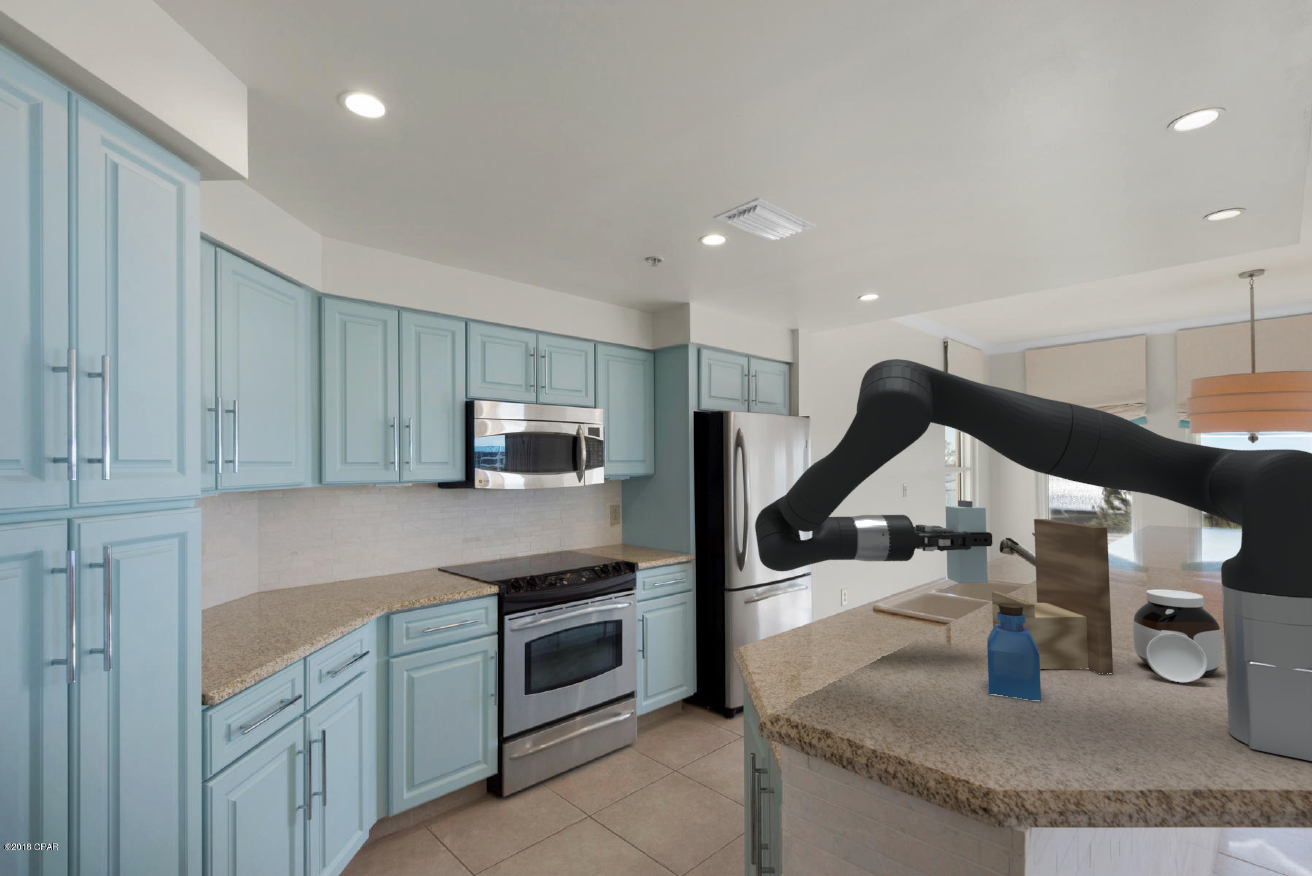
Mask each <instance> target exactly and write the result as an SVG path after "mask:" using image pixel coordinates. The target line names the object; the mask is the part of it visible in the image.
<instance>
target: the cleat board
mask: <svg viewBox="0 0 1312 876" xmlns="http://www.w3.org/2000/svg"><path fill="white" fill-rule="evenodd" d="M1033 525H1034V526H1033V527H1034V550H1035V551H1034V553H1035V555H1034V557H1035V579H1036V580H1035V581H1036V584H1035V585H1036V602H1029V601H1026V600H1023V599H1020V598H1018V597H1016V596H1012V595H1010V594H1007V593H1004V592H1001V591H996V590H995V591H991V606H992V607H991V608H992V628H993V627H994V626H995V624H1000V621H999V620H998V619H997V612H999V611H1000V609H999V605H998V604H999V603H1016V604H1021V605H1023V606H1024V608H1023V612H1022V613H1023V614H1025V621H1026V622H1025V623H1023V627H1027V628H1028V629H1029V631H1030V633H1031V635H1032V637H1033V639H1034V640H1035V642H1036V645H1037V648H1038V652H1039V655H1040V669H1072V670H1081V669H1080V668H1084V669H1083V670H1087V669H1086V668H1089V669H1090V670H1089V669H1088V670H1089V671H1091V670H1093V671H1095V672H1097V673H1100V674H1102V673H1103V674H1107V673H1108V674H1109V673H1112V674H1113V675H1114V666H1113V665H1114V664H1113V662H1114V661H1113V660H1114V659H1113V642H1112V641H1113V640H1112V638H1113V637H1112V615H1111V613H1112V612H1111V609H1112V608H1111V591H1110V589H1111V588H1110V567H1109V566H1110V564H1109V563H1110V562H1109V560H1110V559H1109V541H1108V540H1109V539H1108V537H1109V536H1108V527H1105V526H1098V525H1093V524H1092V525H1091V524H1084V523H1076V522H1070V521H1065V520H1063V521H1062V520H1055V519H1049V518H1034V519H1033ZM1093 671H1092V672H1093ZM1095 672H1094V673H1095ZM1097 673H1096V674H1097ZM1100 674H1099V675H1100Z"/></svg>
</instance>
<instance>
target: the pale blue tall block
mask: <svg viewBox="0 0 1312 876" xmlns="http://www.w3.org/2000/svg"><path fill="white" fill-rule="evenodd" d="M986 511H987V507H982V506H974V504H973V500H972V501H971V500H966V499H965V500H962V499H960V500H957V505H945V528H950V529H952V530H953V531H957V532H963V531H967V532H987V512H986ZM946 534H947V533H946ZM959 542H960V544H961V537H960V538H959ZM946 571H947V572H946V573H947V574H946V576H947V577H946V578H947V579H949V580H951V581H953V582H955V583H958V584H988V583H989V581H988V579H989V578H988V574H989V573H988V546H971V549H969V550H946Z"/></svg>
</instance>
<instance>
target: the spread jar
mask: <svg viewBox="0 0 1312 876" xmlns="http://www.w3.org/2000/svg"><path fill="white" fill-rule="evenodd" d="M1204 599H1205V598H1204V596H1203V595H1202V594H1199V593H1195V592H1191V591H1185V590H1173V589H1160V588H1159V589H1149V590H1148V589H1147V590H1146V601H1147V603H1145V604H1143V605H1141V607H1140V608H1139V609H1138V610H1137V611H1136V612H1135V613H1134V614H1135V615H1134V617H1133V623H1132V625H1133V626H1132V627H1133V629H1132V630H1133V645H1134V650H1135V652H1136V655H1137V656H1138V658H1139V659H1140V660H1141V661H1142V663H1144V664H1145V665H1146V666H1148V667H1149V668H1150V667H1151V668H1150V669H1151V670H1153V672H1155V674H1157V675H1158V676H1159V677H1161V678H1162V679H1165V680H1166V681H1170V682H1172V681H1174V682H1173V683H1177V682H1179V683H1180V684H1185V683H1191V682H1195V681H1197V680H1198V679H1200V677H1202V678H1206V677H1208V676H1210V675H1213V674H1214V673H1215V672H1216V671H1217V670H1219V668H1220V666H1221V664H1222V659H1223V640H1222V639H1223V638H1222V631H1221V627H1220V624H1219V622H1218V621H1217V619H1216V618H1215V617H1214V616H1213V615H1211V613H1209V612H1208V610H1206V609H1205V608H1204V605H1205V600H1204ZM1205 676H1206V677H1205ZM1179 683H1178V684H1179Z"/></svg>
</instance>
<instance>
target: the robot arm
mask: <svg viewBox="0 0 1312 876" xmlns="http://www.w3.org/2000/svg"><path fill="white" fill-rule="evenodd" d="M857 398H858V399H857V403H856V413H855V415H854V417H853V419H852V422H851V423H850V425H849V427H848V428H847V430H846V431H845V434H844V436H843V437H842V438H841V440H840V442H838V443H837V445H836V447H835V448H834V449H833V450H832V451H831V452H829V453H828V454H827V455H825V456H824V457H822V458H821V459H819V460H817V461H815V462H814V463H813V464H812V465H810V466H809V467H808V468H807V469H806V470H805V471H804V472H803V473H802V474H801V475H800V477H799V478H798V479H797V480H796V481H795V482H794V484H793V485H792V486H791V487H790V489H789V490H788V491H787V493H786V494H784V495H782V496H781V497H779V498H778V499H776V500H775V501H773V502H772V503H769V505H767V506H765V507H764V508H762V509H761V510H760V512H759V513H758V515H757V517H756V520H755V522H754V523H755V524H754V530H755V538H756V545H757V551H758V557H759V561H760V562H761V564H762V565H763V566H765V567H766V568H767V569H770V570H772V571H776V572H788V571H794V570H796V569H799V568H803V567H807V566H810V565H814V564H818V563H822V562H826V561H860V562H861V561H862V562H908V561H910V560H911V559H913V557H914V554H915V551H916V549H917V550H922V551H923V552H934V551H939V552H945V551H946V552H947V550H969V549H971V546H987V547H992V545H993V534H992V533H991V532H990V531H986V532H967V531H963V532H957V531H953V530H952V529H950V528H946V527H942V526H940V525H926V524H915V526H914V524H913V522H912V519H910V517H909V516H908V515H905V514H862V515H854V516H831V515H832V513H834V512H835V511H836V509H837V508H838V507H839V506H840V505H841V504H842V503H843V501H845V500H846V498H847V497H849V495H851V493H853V491H855V490H856V489H857V487H858V486H860V485H861V484H862V483H863V482H864V481H866V479H868V478H869V477H870V476H872V475H873V474H874V473H875V472H877V471H878V470H879V469H880V468H882V467H883V466H885V464H887V463H888V462H890V461H891V460H892V459H893V458H895V457H897V456H898V455H899V454H900V453H902V452H903V451H905V450H906V449H908V448H909V447H910V446H912V445H913V444H914V443H915V442H916V441H917V440H919V439H920V438H921V437H922V436H924V434H925V433H926V432H927V431H928V428H929V427H930V425H931V423H932V424H935V425H939V426H944V427H948V428H952V429H954V430H957V431H959V432H962V433H964V434H967V435H969V436H971V437H973V438H974V439H977V440H978V441H980V442H981V443H983V444H985V445H986V446H988V447H990V448H991V449H992V450H994V451H995V452H997V453H999V454H1000V455H1002V456H1003V457H1005V458H1007V459H1009V460H1010V461H1012V462H1014V463H1016V464H1017V465H1020V466H1021V467H1024V468H1026V469H1028V470H1031V471H1034V472H1036V473H1040V474H1044V475H1048V476H1053V477H1055V478H1059V479H1060V478H1061V479H1063V480H1066V481H1067V480H1068V481H1071V482H1075V483H1076V482H1077V483H1080V484H1086V485H1091V486H1095V487H1101V488H1106V489H1112V490H1113V489H1114V490H1116V491H1117V490H1118V491H1119V490H1120V491H1127V492H1133V493H1141V494H1145V495H1150V496H1154V497H1155V496H1156V497H1158V498H1163V499H1165V500H1168V501H1172V502H1175V503H1176V504H1177V503H1178V504H1180V505H1183V506H1186V507H1189V508H1191V509H1192V508H1193V509H1194V510H1198V511H1200V512H1203V513H1205V514H1208V515H1211V516H1214V517H1216V518H1219V519H1222V520H1224V521H1227V522H1230V523H1232V524H1236V525H1238V526H1241V542H1240V548H1239V551H1238V552H1237V553H1236V555H1234V556H1233V557H1230V558H1228V559H1226V560H1224V561H1223V562H1222V564H1221V567H1220V568H1221V569H1220V570H1221V572H1220V573H1221V574H1220V576H1221V584H1222V585H1221V594H1222V595H1221V596H1222V598H1221V599H1222V619H1223V622H1222V623H1223V642H1224V644H1223V645H1224V661H1225V663H1224V665H1225V680H1226V681H1225V682H1226V684H1225V685H1226V686H1225V687H1226V698H1227V699H1226V701H1227V720H1228V721H1227V722H1228V732H1229V734H1230V735H1231V736H1232V737H1233V738H1235V739H1237V740H1238V741H1240V742H1242V743H1244V744H1246V745H1247V746H1249V747H1248V748H1249V749H1252V750H1256V751H1261V752H1265V753H1271V754H1274V755H1281V756H1285V757H1290V758H1294V759H1301V760H1305V761H1309V762H1312V452H1309V451H1306V450H1300V449H1288V448H1287V449H1274V448H1273V449H1249V450H1248V449H1246V450H1245V449H1232V448H1222V447H1215V446H1208V445H1203V444H1202V445H1201V444H1196V443H1192V442H1184V441H1181V440H1176V439H1173V438H1168V437H1165V436H1162V435H1160V434H1158V433H1156V432H1155V431H1154V432H1153V431H1152V430H1149V429H1147V428H1146V427H1144V426H1141V425H1139V424H1137V423H1135V422H1133V421H1131V420H1128V419H1126V418H1124V417H1121V416H1120V415H1117V414H1114V413H1110V412H1107V411H1104V410H1101V409H1100V410H1099V409H1095V408H1092V407H1087V406H1082V405H1080V404H1074V403H1070V402H1065V401H1059V400H1054V399H1049V398H1045V397H1040V396H1036V395H1033V394H1028V393H1024V392H1019V391H1015V390H1011V389H1007V388H1003V387H998V386H993V385H989V384H986V383H985V384H984V383H981V382H977V381H974V380H971V379H967V378H964V377H962V376H959V375H955V374H953V373H949V372H946V371H944V370H940V369H938V368H935V367H932V366H928V365H925V364H923V363H919V362H915V361H912V360H908V359H902V358H901V359H899V358H895V359H894V358H892V359H886V360H883V361H882V360H881V361H879V362H877V363H875V364H873V365H872V366H870V368H868V369H867V370H866V371H865V373H864V375H863V377H862V379H861V383H860V388H859V393H858V397H857ZM800 532H804V533H806V532H807V533H809V532H812V533H811V537H809V538H807V539H801V535H800ZM946 533H947V534H946ZM960 537H961V544H960V542H959V538H960Z"/></svg>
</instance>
